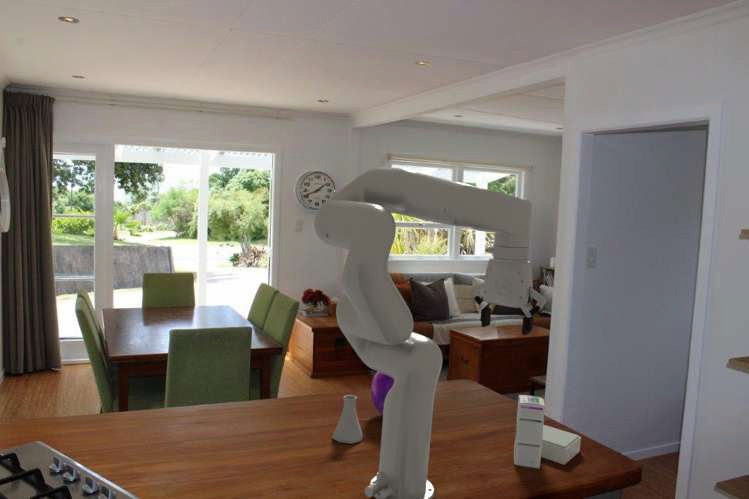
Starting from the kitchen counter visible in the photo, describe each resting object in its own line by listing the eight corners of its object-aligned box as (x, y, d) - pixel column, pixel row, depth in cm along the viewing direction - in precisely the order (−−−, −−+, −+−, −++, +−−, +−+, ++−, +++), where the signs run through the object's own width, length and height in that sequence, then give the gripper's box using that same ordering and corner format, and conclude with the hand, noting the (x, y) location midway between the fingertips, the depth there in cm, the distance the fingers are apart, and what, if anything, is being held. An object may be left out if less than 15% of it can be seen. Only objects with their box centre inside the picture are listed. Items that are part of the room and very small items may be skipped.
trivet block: (564, 464, 137) (566, 447, 137) (522, 450, 143) (524, 434, 143) (579, 451, 145) (581, 435, 145) (539, 438, 151) (541, 423, 151)
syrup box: (540, 469, 134) (546, 405, 133) (513, 464, 135) (519, 401, 134) (538, 458, 140) (545, 397, 138) (512, 454, 141) (518, 393, 140)
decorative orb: (394, 434, 147) (399, 374, 146) (357, 414, 159) (361, 358, 158) (438, 423, 157) (443, 366, 155) (400, 404, 168) (404, 351, 167)
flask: (326, 439, 142) (328, 397, 141) (342, 429, 148) (344, 389, 147) (353, 447, 139) (356, 404, 138) (368, 437, 145) (371, 396, 144)
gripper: (467, 251, 136) (463, 325, 138) (542, 260, 126) (536, 340, 128) (482, 248, 142) (477, 320, 144) (555, 256, 132) (549, 334, 134)
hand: (505, 329), depth 136 cm, fingers open, 9 cm apart
